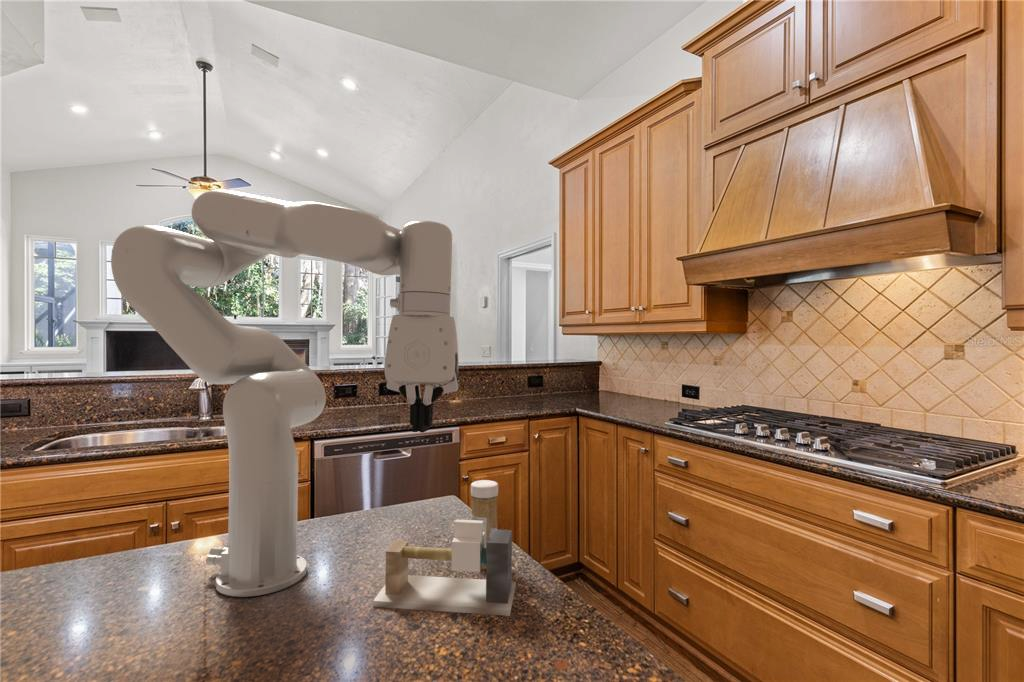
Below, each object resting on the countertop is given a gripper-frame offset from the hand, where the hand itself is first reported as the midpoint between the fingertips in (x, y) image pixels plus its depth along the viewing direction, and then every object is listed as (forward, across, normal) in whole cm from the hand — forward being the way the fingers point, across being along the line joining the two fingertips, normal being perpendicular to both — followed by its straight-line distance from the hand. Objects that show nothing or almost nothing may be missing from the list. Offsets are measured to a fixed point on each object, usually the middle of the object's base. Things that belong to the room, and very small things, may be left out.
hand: (421, 430), depth 73 cm
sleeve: (+19, +8, -1) cm, 20 cm away
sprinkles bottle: (+24, +8, +10) cm, 27 cm away
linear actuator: (+23, +5, -1) cm, 24 cm away
